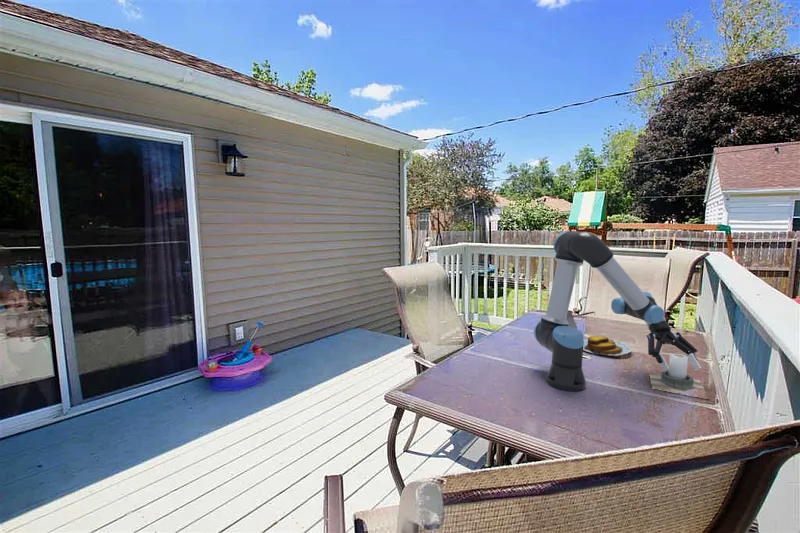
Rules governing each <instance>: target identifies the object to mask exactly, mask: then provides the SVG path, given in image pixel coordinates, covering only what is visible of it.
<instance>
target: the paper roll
mask: <svg viewBox="0 0 800 533" xmlns="http://www.w3.org/2000/svg"><path fill="white" fill-rule="evenodd" d="M668 360H669V363H668V366H669V368H670V369H669V370H667V371H668V376H669V377H672V378H675V379H680V380H686V375H688V373H687V372H688V362H689V359H688V357H687V355H684V354H681V353H675V352H674V353H669V359H668Z"/></svg>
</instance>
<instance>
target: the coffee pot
mask: <svg viewBox="0 0 800 533" xmlns="http://www.w3.org/2000/svg"><path fill="white" fill-rule="evenodd" d="M573 314H574V311H573V310H569V309H568V313H567V317H566V320H567V321H568V323H569V325H568V326H569V327H571V328H576V329H578V326H577V324H576V322H575V318H576V317H581V316H587V315H590V314H591V315H592V314H594V315H595V316H596V313H595V311H589V312H583V313H580V314H576V315H573Z"/></svg>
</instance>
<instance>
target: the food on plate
mask: <svg viewBox="0 0 800 533" xmlns="http://www.w3.org/2000/svg"><path fill="white" fill-rule="evenodd" d="M584 351H585V352H588V353H591V354H593V353H594V354H596V355H603V356H614V357H617V356H619V357H618V358H619V359H621V358H622V356H625V355H628V354H630V353H632V351H633V349H632V347H631V346H630V345H629V344H627V343H624V342H621V341H615V340H613V339H609V337H607V336H603V335H591V336H588V338H587V339H584V345H583V352H584ZM595 352H596V353H595Z"/></svg>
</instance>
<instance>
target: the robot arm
mask: <svg viewBox="0 0 800 533" xmlns="http://www.w3.org/2000/svg"><path fill="white" fill-rule="evenodd" d="M553 250H554V252H555V257H554V259H555V261H556V262H557V265H556V269H555V274H554V278H553V282H552V287H551V290H550V295H549V299H548V303H547V304H548V305H547V309H546V313H545V314H544V315H542V316H541V317H540V320H539V322H537V323H536V324H535V326H534V329H533V334H534V335H533V336H534V338H535V340H536V342H537V343H538V344H540V345H541V346H542V347H544V348H545V349H547V350H548V351H550V352H551V353H552V354H551V365H550V367H549V369H548V372H547V374H546V383H547V384H548V385H550V386H551V387H553V388H556V389H557V390H562V391H567V392H568V391H569V392H579V391H583V390H585V389H586V386H587V381H586V378H585V374H584V371H583V355H584V350H583V345H584V340H585V339H584V334H583V332H582V331H581V330H579V329H578V328H577V329H576V328H571V327H569V326H568V325H569V323H568V321H567V320H566V317H567V313H568V310H569V308H570V304H571V298H572V296H573V295H572V294H573V290H574V286H575V282H576V277H577V275H578V274H577V273H578V269H579V267H580V266H582V265H583V264H584V262H586V263H587V264H589V265H590V266H591V268H592V269H597V271H598V272H599V273H600V274H601V275H602V277H603V278H604V279H605V280H606V281H607V282H608V283H609V285H610V286H611V287H612V288H613V289H614V290H615V292H616V293H618V295H619V296H620V297H615V298H614V299H613V300H611V305H610V306H611V310H612V312H613V313H614V314H615V315H628V316H630V317H633V318H636V319H639V320H641V321H644V322H645V324H646V326H647V327H648V330H649V333H648V334H647V335H646V339H647V340H648V341H647V343H648V344H647V345H648V346H647V348H648V349H647V354H648V355H649V356H651V357H652V358H655V360H656V362H657V363H658V364H659V365H660V366H661V367H660V368H662V372H663V371H664V372H666V371H668V370H669V369H670V368H669V363H667V361H666V359H665V357H664V355H663V353H661V350H662V347H663V345H666V344H667V345H671V346H674V347H676V348H677V349H679V350H680V351H682V353H685V354H686V356H687V357H688V362H690V364H691V367H692V368H693V369H694V372H696V371H699V370H700V369H702V366H701V365H700V363H699V360H698V357H697V356H696V353H697V352H698V349H697V348H695V347H694V346H693V345H692V344H691V343H690V342H689V341H688V340H687V339H686V338H684V337H683V336H682V334H681V333H680V332H679V331H677V332H676V333H673V332H672V328H671V326H670V324H669V323H668V321H667V319H666V317H665V310H664V308H662V307H661V306H659V305H658V304H657V302H656V299H655V298H654V297H653V296H652V294H651V293H650V292H648V291H642V289H641V288H640V287H639V286H638V284H636V282H635V281H634V280H633V279H632V277H630V275H629V274H628V273H627V272H626V270H625V269H624V268H623V267H622V265H620V263H619V262H618V261H617V260H616V259H615V258H614V255H615V254H614V252H613V250H611V248H609V246H608V245H606V243H605V242H604V241H603V240H601V238H600V237H598V236H597V235H596V234H594V233H592V232H589V231H575V230H570V231H569V230H568V231H564V232H561V233H560V234H559V235H557V237H556V238H555V240H554V242H553ZM655 340H656V343H655Z"/></svg>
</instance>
